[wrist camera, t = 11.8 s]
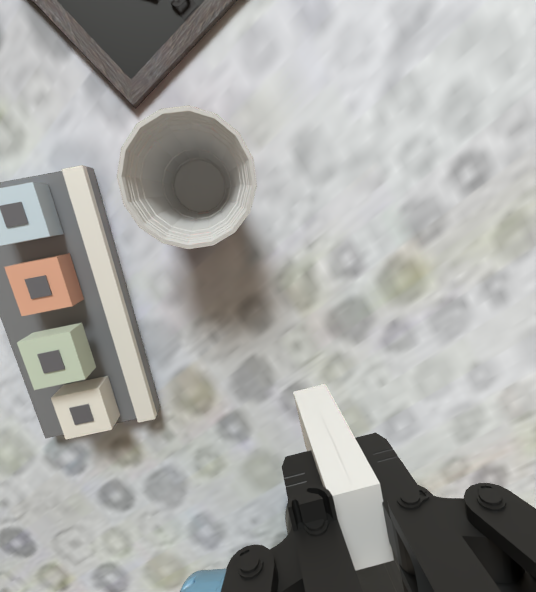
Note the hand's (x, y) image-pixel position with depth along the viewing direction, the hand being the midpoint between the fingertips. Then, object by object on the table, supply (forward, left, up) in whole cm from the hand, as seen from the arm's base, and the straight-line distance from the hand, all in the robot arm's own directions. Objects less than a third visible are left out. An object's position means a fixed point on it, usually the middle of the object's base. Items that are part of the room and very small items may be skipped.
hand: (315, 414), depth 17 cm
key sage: (-1, +22, -24) cm, 32 cm away
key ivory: (-8, +22, -26) cm, 35 cm away
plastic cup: (+12, +5, -28) cm, 31 cm away
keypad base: (+2, +22, -28) cm, 36 cm away
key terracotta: (+6, +22, -26) cm, 34 cm away
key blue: (+13, +22, -26) cm, 36 cm away
